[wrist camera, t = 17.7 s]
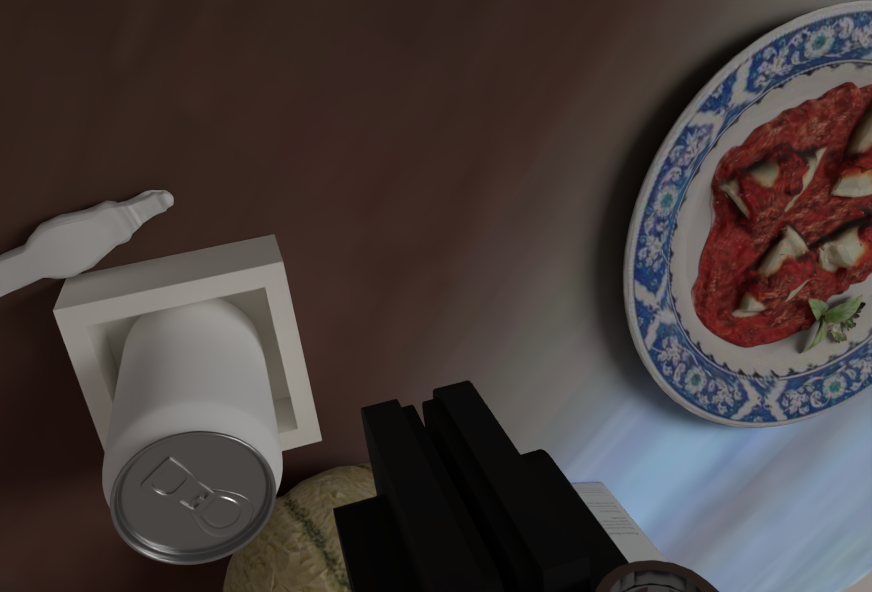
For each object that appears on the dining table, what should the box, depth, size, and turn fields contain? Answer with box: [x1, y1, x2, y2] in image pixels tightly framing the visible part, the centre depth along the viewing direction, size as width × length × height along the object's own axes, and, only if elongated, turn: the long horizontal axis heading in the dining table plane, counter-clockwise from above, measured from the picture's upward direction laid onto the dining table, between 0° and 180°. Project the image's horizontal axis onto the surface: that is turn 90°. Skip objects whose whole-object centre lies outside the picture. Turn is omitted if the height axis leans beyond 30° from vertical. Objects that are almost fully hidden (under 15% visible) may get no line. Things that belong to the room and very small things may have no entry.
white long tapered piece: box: [0, 190, 174, 297], centre depth 34 cm, size 15×3×2 cm, turn 113°
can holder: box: [53, 234, 322, 452], centre depth 37 cm, size 10×10×4 cm
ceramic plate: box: [623, 1, 872, 428], centre depth 45 cm, size 26×26×3 cm
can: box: [102, 298, 283, 565], centre depth 32 cm, size 6×6×12 cm
